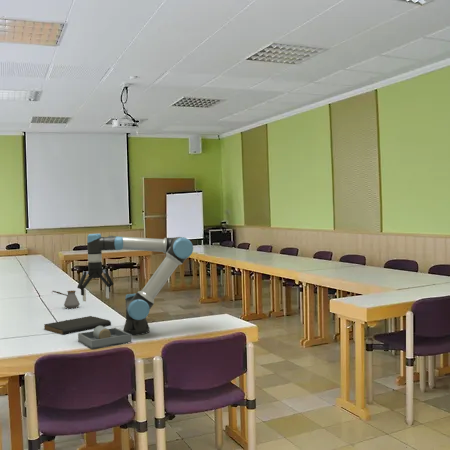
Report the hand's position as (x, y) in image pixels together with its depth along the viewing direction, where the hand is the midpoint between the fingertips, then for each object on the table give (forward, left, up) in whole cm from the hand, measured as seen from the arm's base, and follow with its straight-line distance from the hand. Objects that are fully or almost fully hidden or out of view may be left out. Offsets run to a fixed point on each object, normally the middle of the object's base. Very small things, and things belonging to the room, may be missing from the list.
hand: (96, 299), depth 289 cm
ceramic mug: (-2, +6, -22) cm, 23 cm away
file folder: (-3, -43, -24) cm, 49 cm away
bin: (-2, +6, -23) cm, 24 cm away
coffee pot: (-18, -116, -23) cm, 120 cm away
